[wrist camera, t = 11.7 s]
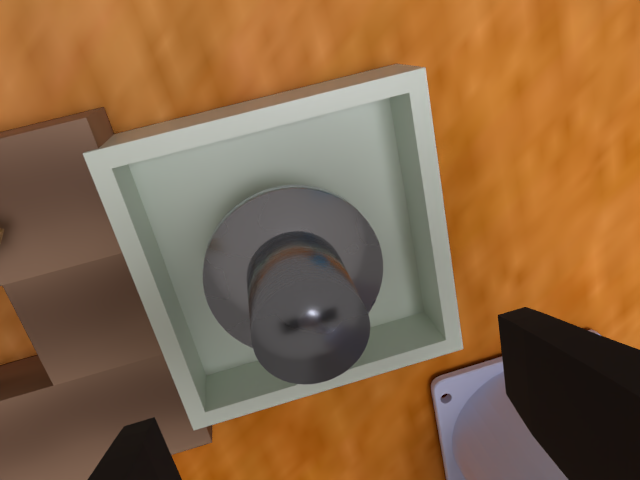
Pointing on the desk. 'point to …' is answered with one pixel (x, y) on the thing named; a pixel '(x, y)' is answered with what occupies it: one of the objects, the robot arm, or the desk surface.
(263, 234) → the pin
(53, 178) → the socket block
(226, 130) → the tray
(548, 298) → the desk surface
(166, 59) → the desk surface
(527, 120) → the desk surface
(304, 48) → the desk surface
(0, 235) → the lever
